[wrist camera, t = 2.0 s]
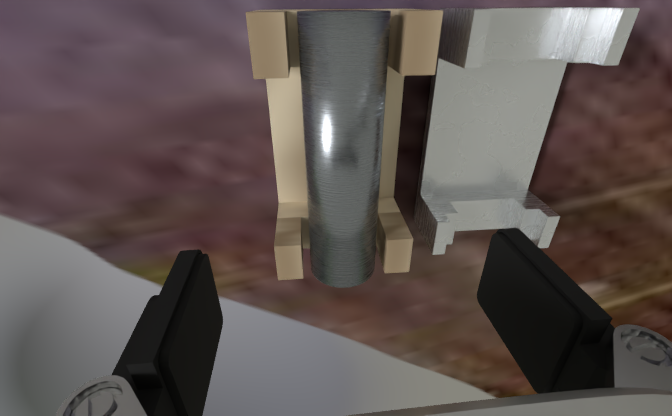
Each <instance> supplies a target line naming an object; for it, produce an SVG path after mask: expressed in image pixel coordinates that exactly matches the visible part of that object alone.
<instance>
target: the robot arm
mask: <svg viewBox="0 0 672 416" xmlns="http://www.w3.org/2000/svg"><path fill="white" fill-rule="evenodd" d="M477 299H478V302H479V304H480V306H481V307H482V309H483V310H484V312H485V314H486V315H487V317H488V318H489V320H490V321H491V323H492V325H493V326H494V328H495V329H496V331H497V332H498V334H499V336H500V337H501V339H502V340H503V342H504V343H505V345H506V347H507V348H508V350H509V351H510V353H511V354H512V356H513V358H514V359H515V361H516V362H517V364H518V365H519V367H520V368H521V370H522V372H523V373H524V375H525V376H526V378H527V379H528V381H529V383H530V384H531V386H532V387H533V389H534V390H535V391H536V392H537V393H538V394H534V395H524V396H515V397H506V398H497V399H488V400H480V401H469V402H461V403H452V404H443V405H434V406H426V407H417V408H408V409H400V410H391V411H382V412H373V413H365V414H356V415H348V416H672V343H671V342H670V341H669V340H668V339H666V338H665V337H663V336H661V335H660V334H658V333H656V332H654V331H651V330H649V329H647V328H644V327H640V326H636V325H621V326H618V327H617V328H616V329H615V328H614V327H613V326H612V325H611V324H610V322H611V320H612V317H610V316H609V315H608V314H607V313H606V312H605V311H604V310H603V309H602V308H601V307H600V306H599V305H598V304H597V303H596V302H595V301H594V300H593V299H592V298H591V297H590V296H589V295H588V294H587V293H585V292H584V291H583V290H582V289H581V288H580V287H579V286H578V285H577V284H576V283H575V282H574V281H573V280H572V279H571V278H570V277H569V276H568V275H567V274H566V273H565V272H564V271H563V270H562V269H560V268H559V267H558V266H557V265H556V264H555V263H554V262H553V261H552V260H551V259H550V258H549V257H548V256H547V255H546V254H545V253H544V252H543V251H542V250H541V249H540V248H539V247H538V246H537V245H535V244H534V243H533V242H532V241H531V240H530V239H529V238H528V237H527V236H526V235H525V234H524V233H523V232H522V231H521V230H520V229H518V228H506V229H499V230H498V231H497V232H496V233H495V234H493V235H492V238H491V242H490V245H489V249H488V253H487V257H486V261H485V265H484V269H483V272H482V276H481V280H480V284H479V288H478V292H477ZM222 325H223V316H222V311H221V307H220V303H219V299H218V294H217V290H216V286H215V282H214V278H213V273H212V269H211V265H210V261H209V257H208V255H207V254H202V252H201V250H186V251H180V252H179V254H178V256H177V258H176V260H175V262H174V265H173V267H172V269H171V271H170V273H169V275H168V277H167V279H166V281H165V284H164V286H163V288H162V290H161V292H160V294H159V295H154V296H152V297H151V298H150V300H149V301H148V303H147V305H146V307H145V309H144V311H143V313H142V315H141V317H140V319H139V321H138V323H137V325H136V327H135V329H134V331H133V333H132V335H131V337H130V339H129V341H128V343H127V345H126V347H125V349H124V351H123V353H122V355H121V357H120V359H119V361H118V363H117V365H116V367H115V369H114V371H113V373H112V375H108V376H103V377H99V378H95V379H93V380H91V381H89V382H87V383H85V384H84V385H82V386H81V387H79V388H78V389H76V390H75V391H74V392H73V393H72V394H71V395H70V396H69V397H68V398H67V399H66V400H65V401H64V402H63V404H62V405H61V406H60V408H59V409H58V411H57V413H56V416H202V415H203V410H204V406H205V401H206V397H207V392H208V387H209V383H210V378H211V374H212V370H213V366H214V361H215V357H216V352H217V348H218V343H219V339H220V334H221V330H222Z"/></svg>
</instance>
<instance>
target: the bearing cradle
mask: <svg viewBox="0 0 672 416" xmlns="http://www.w3.org/2000/svg"><path fill="white" fill-rule="evenodd" d="M316 10H389V11H391V20H390V36H389V51H388V66H387V82H386V97H385V112H384V128H383V143H382V158H381V174H380V189H379V204H378V220H377V235H376V246H377V249H378V253H379V256H380V259H381V262H382V266H383V269H384V272H385V273H397V272H409V267H410V259H411V252H412V244H413V237H412V235H411V233H410V231H409V229H408V227H407V225H406V223H405V220H404V218H403V216H402V214H401V212H400V210H399V208H398V206H397V204H396V202H395V199H394V186H395V175H396V163H397V152H398V141H399V130H400V119H401V108H402V96H403V85H404V76H407V75H435V70H436V62H437V55H438V47H439V40H440V32H441V24H442V17H443V11H442V10H423V9H302V10H257V11H251V12H246V19H247V28H248V36H249V44H250V52H251V61H252V69H253V77H254V79H266V83H267V93H268V102H269V112H270V122H271V131H272V141H273V150H274V160H275V170H276V179H277V189H278V198H279V207H278V216H277V225H276V234H275V243H274V250H275V258H276V266H277V275H278V280H288V279H303V248H310V238H309V220H308V203H307V185H306V167H305V149H304V131H303V113H302V95H301V77H300V59H299V41H298V23H297V11H316Z"/></svg>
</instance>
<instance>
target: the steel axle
mask: <svg viewBox="0 0 672 416" xmlns="http://www.w3.org/2000/svg"><path fill="white" fill-rule="evenodd" d="M390 20H391V11H389V10H316V11H297V23H298V41H299V59H300V77H301V95H302V113H303V131H304V149H305V167H306V185H307V203H308V220H309V238H310V256H311V270H312V273H313V274H314V276H315V277H316V278H317V279H318V280H319V281H321V282H322V283H324V284H327V285H329V286H333V287H342V288H343V287H353V286H357V285H359V284H362V283H364V282H365V281H367V280H368V279H369V278H370V277H371V276H372V274H373V272H374V266H375V250H376V235H377V220H378V204H379V189H380V174H381V158H382V143H383V128H384V112H385V97H386V82H387V66H388V51H389V36H390Z"/></svg>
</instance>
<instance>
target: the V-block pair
mask: <svg viewBox="0 0 672 416" xmlns="http://www.w3.org/2000/svg"><path fill="white" fill-rule="evenodd" d="M639 9H640V8H599V7H535V8H440V10H442V11H443V17H442V24H441V32H440V40H439V47H438V55H437V62H436V70H435V75H432V77H431V85H430V93H429V101H428V109H427V117H426V124H425V132H424V140H423V148H422V156H421V164H420V171H419V179H418V187H417V195H416V203H415V210H414V220H415V222H416V224H417V226H418V228H419V230H420V232H421V234H422V235H423V237H424V239H425V241H426V243H427V245H428V247H429V249H430V251H431V253H432V255H435V254H444V253H445V248H446V244H452V242H453V237H454V232H455V231H467V230H485V229H502V228H505V229H506V228H518V229H520V230H521V231H522V232H523V233H524V234H525V235H526V236H527V237H528V238H529V239H530V240H531V241H532V242H533V243H534V244H535V245H537V246H538V247H539V248H548V247H549V244H550V242H551V239H552V237H553V234H554V231H555V229H556V226H557V224H558V221H559V218H560V216H559V215H558V214H557V213H556V212H555V211H553V210H552V209H551V208H550V207H548V206H547V205H546V204H545V203H544V202H542V201H541V200H540V199H539V198H537V197H536V196H535V195H534V194H533V193H531V192H530V191H529V190H528V187H529V184H530V181H531V177H532V174H533V171H534V168H535V164H536V161H537V158H538V155H539V152H540V148H541V145H542V142H543V139H544V136H545V132H546V129H547V126H548V123H549V119H550V116H551V113H552V110H553V107H554V103H555V100H556V97H557V94H558V91H559V87H560V84H561V81H562V78H563V75H564V71H565V68H566V65H567V62H571V63H593V64H598V65H603V66H605V65H618V64H619V61H620V59H621V56H622V54H623V51H624V48H625V46H626V43H627V41H628V38H629V35H630V33H631V30H632V28H633V25H634V22H635V20H636V17H637V14H638V12H639Z"/></svg>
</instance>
